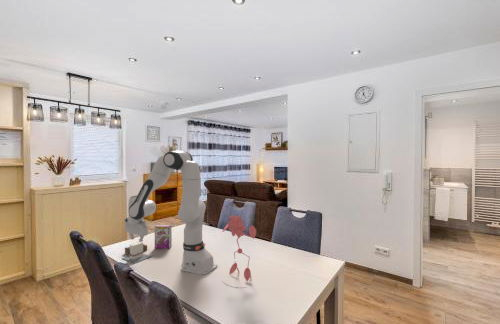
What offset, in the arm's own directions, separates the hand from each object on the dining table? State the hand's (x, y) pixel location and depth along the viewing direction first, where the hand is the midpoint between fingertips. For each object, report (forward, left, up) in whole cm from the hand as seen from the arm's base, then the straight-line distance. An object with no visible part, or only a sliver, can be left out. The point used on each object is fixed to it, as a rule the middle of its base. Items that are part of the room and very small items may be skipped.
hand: (136, 240), depth 156 cm
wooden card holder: (+10, -6, -12) cm, 16 cm away
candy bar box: (0, -21, -12) cm, 24 cm away
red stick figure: (-73, -11, -12) cm, 75 cm away
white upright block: (0, 0, -11) cm, 11 cm away
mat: (0, 0, -12) cm, 12 cm away
